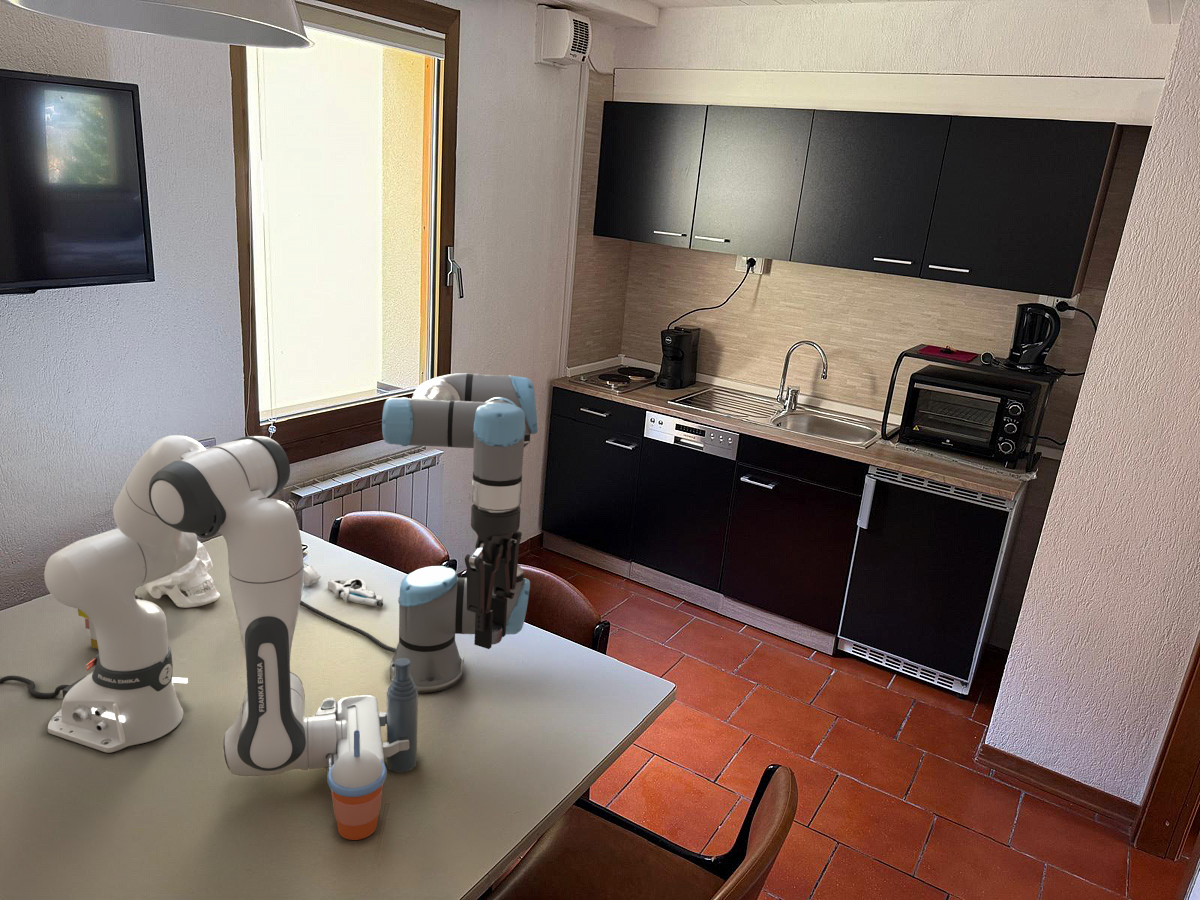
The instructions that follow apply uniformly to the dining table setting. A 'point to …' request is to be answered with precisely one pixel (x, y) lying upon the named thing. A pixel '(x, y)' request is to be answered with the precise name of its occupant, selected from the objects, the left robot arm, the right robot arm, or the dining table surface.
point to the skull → (188, 582)
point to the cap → (496, 632)
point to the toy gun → (355, 592)
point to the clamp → (310, 576)
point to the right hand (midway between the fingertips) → (490, 639)
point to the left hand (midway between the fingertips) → (407, 731)
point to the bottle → (402, 716)
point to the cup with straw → (357, 791)
